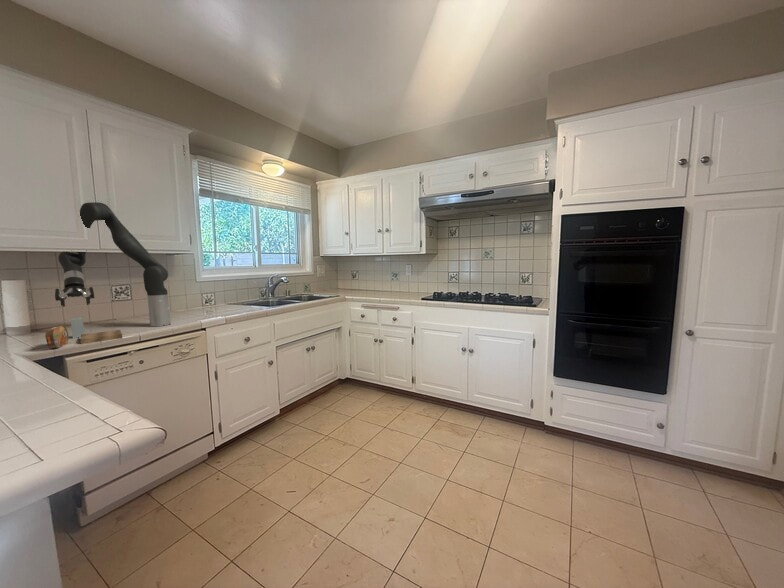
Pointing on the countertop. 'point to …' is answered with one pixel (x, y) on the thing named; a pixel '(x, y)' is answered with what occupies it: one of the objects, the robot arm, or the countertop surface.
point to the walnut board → (100, 336)
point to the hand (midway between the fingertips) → (75, 304)
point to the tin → (56, 337)
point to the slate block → (77, 327)
